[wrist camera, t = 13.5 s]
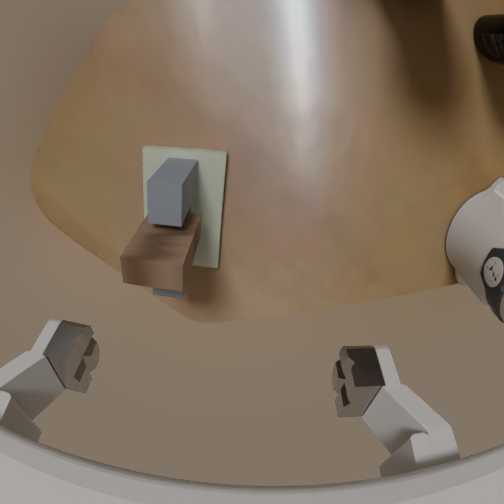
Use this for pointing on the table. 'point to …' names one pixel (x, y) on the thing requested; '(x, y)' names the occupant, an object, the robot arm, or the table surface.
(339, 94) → the table surface
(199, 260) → the notched receiver
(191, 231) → the walnut slat
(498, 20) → the supplement bottle
